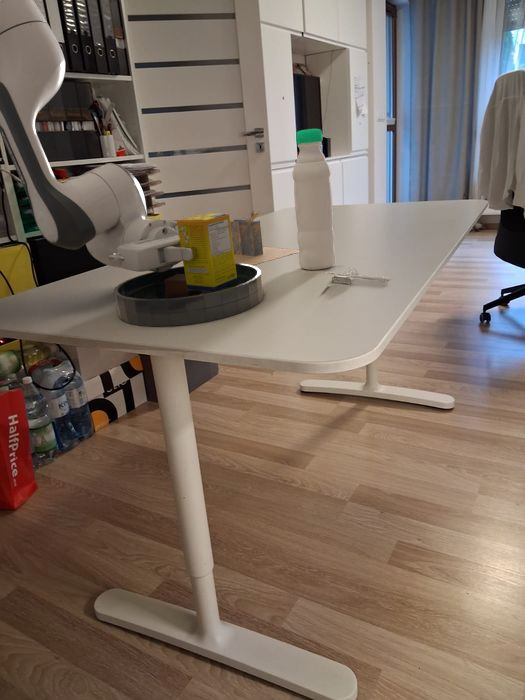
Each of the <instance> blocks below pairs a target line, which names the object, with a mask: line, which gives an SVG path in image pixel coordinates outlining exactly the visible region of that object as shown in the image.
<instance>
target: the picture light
mask: <svg viewBox="0 0 525 700" xmlns="http://www.w3.org/2000/svg"><path fill="white" fill-rule="evenodd" d="M348 269H350V270H349V271H348V273H346V272H347V270H348ZM353 270H355V271H353ZM350 272H351V273H350ZM323 273H325V274H333V276H332V277H331V280H332V281H333V282H334V283H342V284H347V285H350V284H351V283H353V282H354V280H355V279H359V280H360V279H361V280H369V281H370V280H371V281H379V282H390V281H391V279H390V278H389V277H386V276H376V275H367V274H366V275H364V274H360V273H359V272H358V270H357V269H356V268H354V267H352V268H351V267H347V268H346V269H345V270H344V272H335V271H330V270H329V271H324V272H323ZM334 274H335V275H334Z"/></svg>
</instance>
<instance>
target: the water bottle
mask: <svg viewBox="0 0 525 700" xmlns="http://www.w3.org/2000/svg"><path fill="white" fill-rule="evenodd" d="M322 131H323V130H322V129H320V128H307V129H301V130H298V131H297V132H296V133H295V141H296V142H295V143H296V145H297V148H298V149H299V154H298V155H297V156H296V159H295V164H294V167H293V169H292V179H293V181H294V183H293V185H294V186H293V188H294V189H293V194H294V197H293V198H294V210H295V220H296V226H297V245H298V250H299V252H298V264H299V266H300V268H301V269H303V270H309V271H317V270H319V271H320V270H325V269H330V268H331V267H333V266H334V265H335V264H336V251H335V245H334V244H335V233H334V229H333V223H334V217H333V216H334V215H333V213H334V212H333V194H332V185H331V184H332V183H331V178H330V177H331V174H332V171H331V167H330V164H329V163H328V161H327V160H326V157H325V154H324V153H323V152H322V149H321V146H322V144H323V132H322Z"/></svg>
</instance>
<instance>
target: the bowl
mask: <svg viewBox="0 0 525 700" xmlns="http://www.w3.org/2000/svg"><path fill="white" fill-rule="evenodd" d="M235 267H236V275H237V282H236V283H233V284H231V285H229V286H226V287H224V288H222V289H219V290H217V291H215V292H211V291H200V292H201V295H195V296H188V297H180V298H169V299H167V294H166V288H165V282H164V280H166V279H168V278H170V277H173V276H175V275H177V274H185V271H184V265H182V266H173V267H172V268H170V269H169V270H167V271H164V272H153V271H149V272H148V273H144V274H141V275H137V276H135V277H132V278H128V279H126V280H124V281H123V282H121V283H119V284H118V285H117V286H115V287H114V289H113V295H114V300H115V306H116V311H117V315H118V317H119V318H120V319H121V321H123V322H125V323H127V324H131V325H136V326H141V327H143V326H144V327H177V326H188V325H196V324H201V323H207V322H213V321H216V320H221V319H224V318H228V317H231V316H234V315H239V314H241V313H243V312H245V311H247V310H251V309H252V308H254V307H255V306H257V305H259V304H260V302H262V300H263V299H264V286H263V285H264V284H263V277H262V270H261V269H259V267H258V266H255V265H247V264H238V263H235Z"/></svg>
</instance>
